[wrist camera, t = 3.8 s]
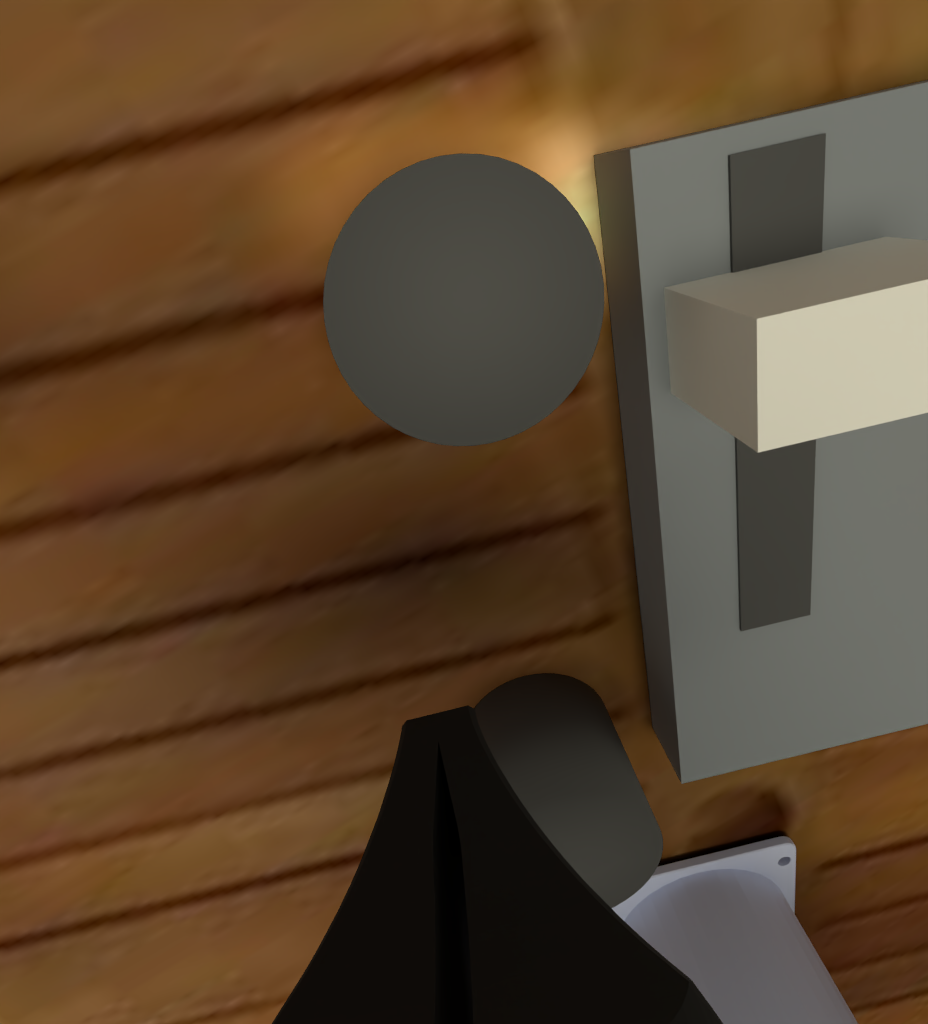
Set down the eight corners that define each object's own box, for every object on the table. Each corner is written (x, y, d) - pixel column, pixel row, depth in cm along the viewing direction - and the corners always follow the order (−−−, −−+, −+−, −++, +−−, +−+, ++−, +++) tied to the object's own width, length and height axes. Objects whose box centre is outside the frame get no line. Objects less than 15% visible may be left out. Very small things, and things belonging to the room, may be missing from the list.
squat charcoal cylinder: (555, 361, 18) (615, 416, 13) (367, 400, 18) (362, 469, 13) (529, 148, 16) (589, 126, 11) (315, 190, 15) (287, 186, 11)
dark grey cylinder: (614, 766, 24) (668, 896, 20) (478, 799, 24) (502, 938, 20) (599, 657, 22) (656, 776, 18) (449, 693, 22) (469, 822, 18)
